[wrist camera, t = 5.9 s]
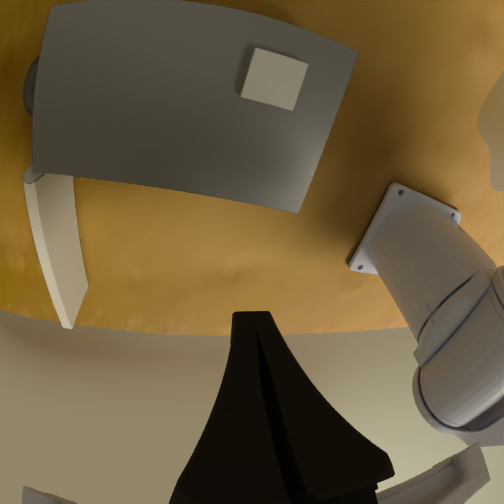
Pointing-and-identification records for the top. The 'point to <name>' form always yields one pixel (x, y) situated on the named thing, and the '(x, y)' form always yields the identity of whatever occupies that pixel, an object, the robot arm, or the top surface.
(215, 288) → the top surface
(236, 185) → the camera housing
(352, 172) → the top surface
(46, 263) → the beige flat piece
